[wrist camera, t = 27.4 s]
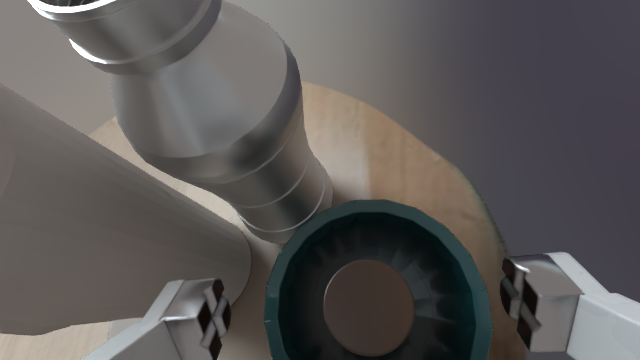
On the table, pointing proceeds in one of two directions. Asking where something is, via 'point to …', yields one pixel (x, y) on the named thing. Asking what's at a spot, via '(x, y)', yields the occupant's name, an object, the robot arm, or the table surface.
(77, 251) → the candle
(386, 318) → the rod with orange collar
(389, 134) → the table surface
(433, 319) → the teal cup
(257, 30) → the silver metal bottle
